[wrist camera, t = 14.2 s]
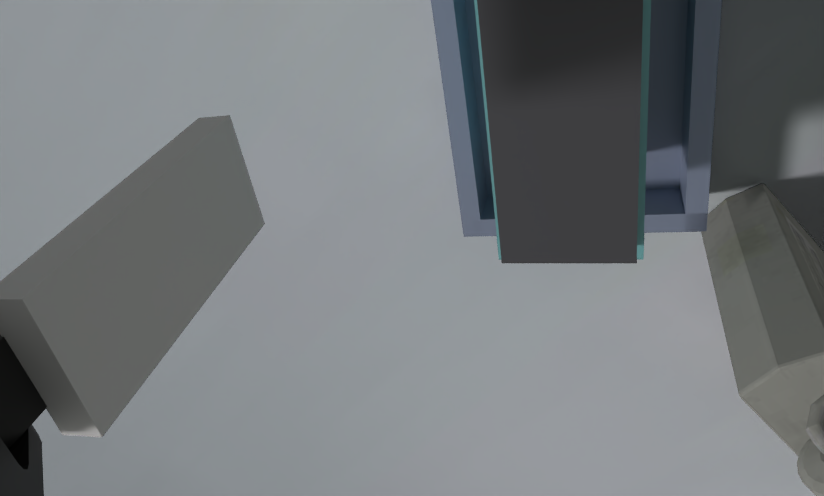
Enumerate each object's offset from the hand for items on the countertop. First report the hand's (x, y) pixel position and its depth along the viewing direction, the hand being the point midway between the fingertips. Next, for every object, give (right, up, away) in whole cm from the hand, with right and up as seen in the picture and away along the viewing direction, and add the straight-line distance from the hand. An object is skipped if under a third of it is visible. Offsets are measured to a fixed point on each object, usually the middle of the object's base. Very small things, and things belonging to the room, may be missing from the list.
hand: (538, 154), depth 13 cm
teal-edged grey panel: (+3, +7, +12) cm, 14 cm away
